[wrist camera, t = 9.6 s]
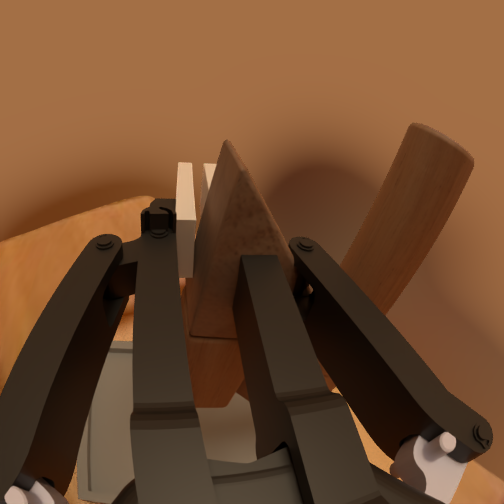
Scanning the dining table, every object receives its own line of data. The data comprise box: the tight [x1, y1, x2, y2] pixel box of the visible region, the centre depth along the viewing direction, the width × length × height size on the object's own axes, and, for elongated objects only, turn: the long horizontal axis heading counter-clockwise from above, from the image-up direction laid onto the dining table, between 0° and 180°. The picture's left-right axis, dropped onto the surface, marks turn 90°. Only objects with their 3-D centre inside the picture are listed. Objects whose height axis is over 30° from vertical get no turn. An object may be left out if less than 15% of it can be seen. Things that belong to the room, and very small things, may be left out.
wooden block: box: [181, 123, 474, 408], centre depth 13 cm, size 4×11×18 cm, turn 102°
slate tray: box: [77, 341, 257, 504], centre depth 23 cm, size 22×18×2 cm
